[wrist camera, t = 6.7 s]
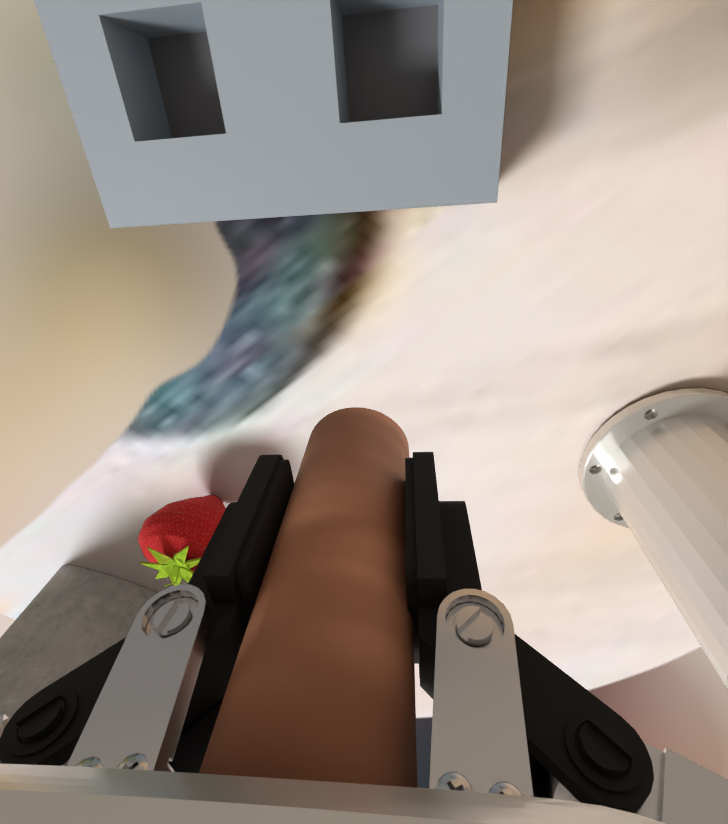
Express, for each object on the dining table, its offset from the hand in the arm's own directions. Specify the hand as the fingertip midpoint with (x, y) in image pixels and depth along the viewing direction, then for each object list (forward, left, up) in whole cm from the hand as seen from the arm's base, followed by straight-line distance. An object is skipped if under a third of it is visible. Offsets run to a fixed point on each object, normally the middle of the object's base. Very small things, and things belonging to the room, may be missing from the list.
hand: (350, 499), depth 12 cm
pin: (0, 0, -2) cm, 2 cm away
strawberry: (+16, +17, -20) cm, 31 cm away
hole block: (+4, -12, -19) cm, 23 cm away
